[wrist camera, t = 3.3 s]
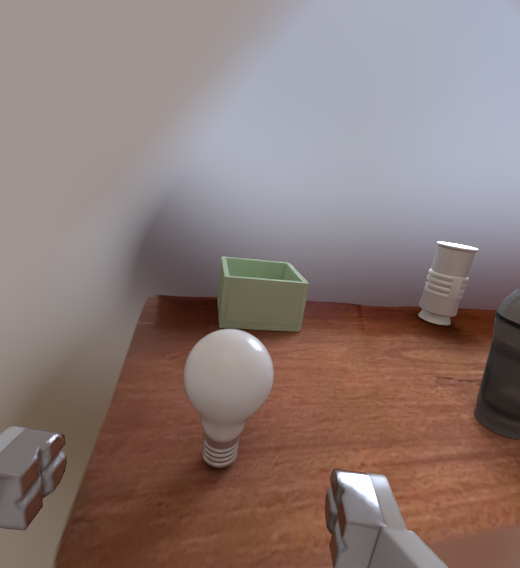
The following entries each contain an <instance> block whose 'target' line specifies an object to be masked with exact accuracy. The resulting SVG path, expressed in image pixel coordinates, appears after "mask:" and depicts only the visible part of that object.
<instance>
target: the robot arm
mask: <svg viewBox="0 0 520 568" xmlns="http://www.w3.org/2000/svg"><path fill="white" fill-rule="evenodd" d="M64 445H65V436H64V435H63V434H61V433H55V432H49V431H43V430H37V429H30V428H22V427H16V426H12V427H9V428H7V429H5V430H4V431H3V432H2V433H1V434H0V528H6V529H15V530H26V529H27V527H28V526H29V524H30V523H31V522H32V520H33V519H34V518H35V516H36V515H37V514H38V512H39V511H40V509H41V508H42V507H43V498H44V497H45V496H47V495H49V494H50V493H52V492H54V490H55V489H56V487H57V486H58V484H59V483H60V481H61V479H62V477H63V474H64V472H65V468H66V463H67V462H66V455H65V454H64V453H63V451H62V450H61V449H62V448H63V446H64ZM330 481H331V488H330V489H328V490H327V494H326V499H325V519H326V526H327V529H328V530H329V531H330V533H331V534H332V536H331V540H330V544H329V545H330V551H331V557H332V563H333V568H448V567H447V566H446V565H445V564H444V563H443V562H442V561H441V559H439V557H437V556H436V554H435V553H434V552H433V551H432V550H431V549H430V548H429V547H428V546H427V545H426V544H425V543H424V542H423V541H422V540H421V539H420V538H419V537H418V536H417V535H416V534H415V533H414V532H413V531H409V530H407V528H406V525H405V523H404V520H403V518H402V515H401V513H400V510H399V508H398V505H397V503H396V500H395V498H394V495H393V493H392V490H391V488H390V485H389V483H388V480H387V478H386V477H385V476H384V475H380V474H371V473H363V472H355V471H347V470H338V469H333V471H332V473H331V477H330Z"/></svg>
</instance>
